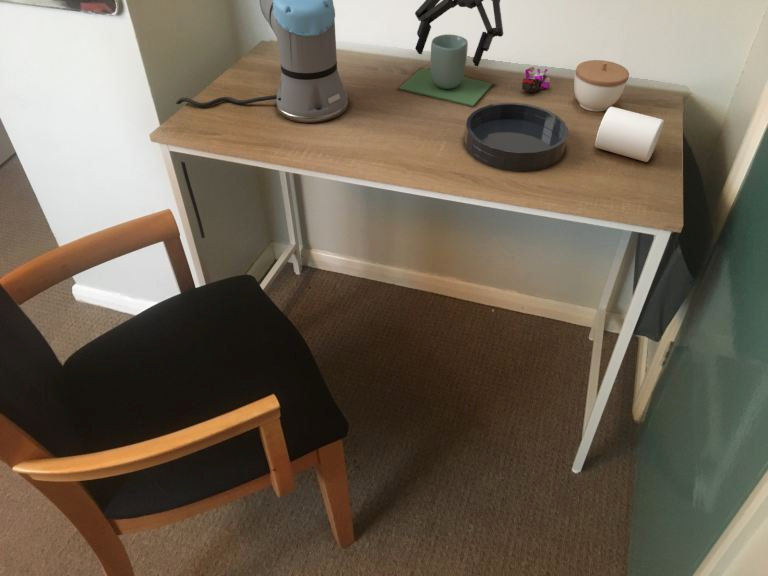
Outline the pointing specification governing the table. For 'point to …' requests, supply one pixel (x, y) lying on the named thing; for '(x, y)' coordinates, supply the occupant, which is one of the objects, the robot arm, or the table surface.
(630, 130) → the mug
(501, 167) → the shallow round tray
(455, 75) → the cup
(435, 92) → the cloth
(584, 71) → the trinket box
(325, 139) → the table surface
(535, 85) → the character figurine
